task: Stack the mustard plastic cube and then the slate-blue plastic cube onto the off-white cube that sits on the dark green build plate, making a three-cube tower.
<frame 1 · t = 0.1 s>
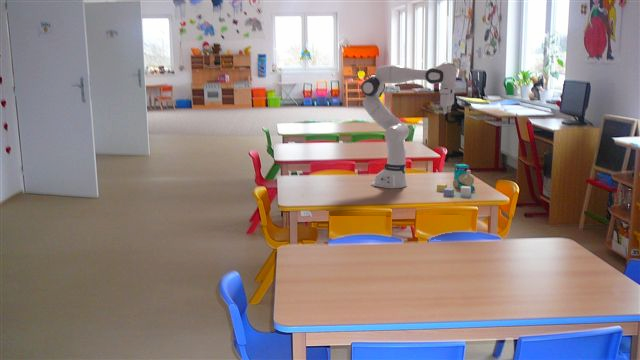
hand: (446, 113, 398), 48 cm above the table, tool pointing down, fingers open, 8 cm apart
blue block: (448, 197, 391), on the table
mustard block: (441, 192, 404), on the table
white block: (465, 195, 391), point 1 cm above the table, touching build plate
build plate: (465, 197, 391), on the table
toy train: (464, 190, 411), on the table
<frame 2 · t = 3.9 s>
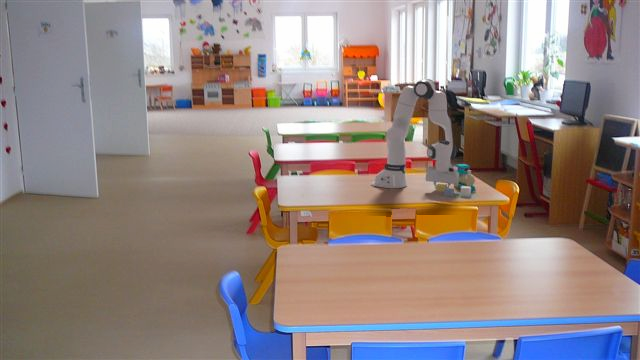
hand: (441, 189, 403), 2 cm above the table, tool pointing down, fingers closed on mustard block, 5 cm apart
mustard block: (441, 192, 404), on the table, touching gripper
when the fingers open (9 cm above the table, at t = 9.1 s): mustard block drops 1 cm, resting on white block.
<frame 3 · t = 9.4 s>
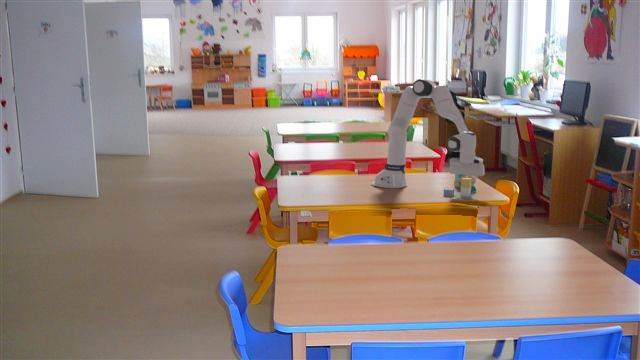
hand: (466, 182, 389), 9 cm above the table, tool pointing down, fingers open, 8 cm apart
mustard block: (466, 187, 390), point 6 cm above the table, touching white block
white block: (465, 195, 391), point 1 cm above the table, touching build plate, mustard block
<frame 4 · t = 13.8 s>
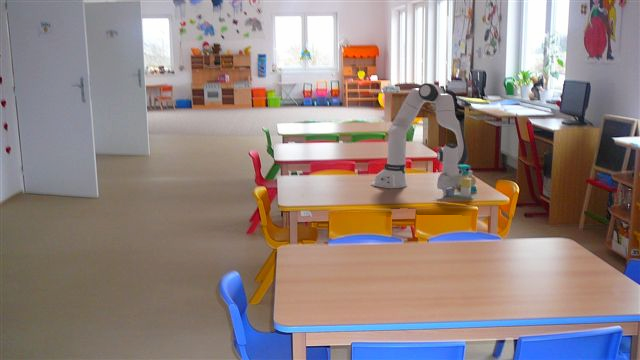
hand: (448, 194, 391), 2 cm above the table, tool pointing down, fingers closed on blue block, 6 cm apart
blue block: (448, 197, 391), on the table, touching gripper
when the fingers open (14 cm above the table, at t = 18.9 s): blue block drops 1 cm, resting on mustard block.
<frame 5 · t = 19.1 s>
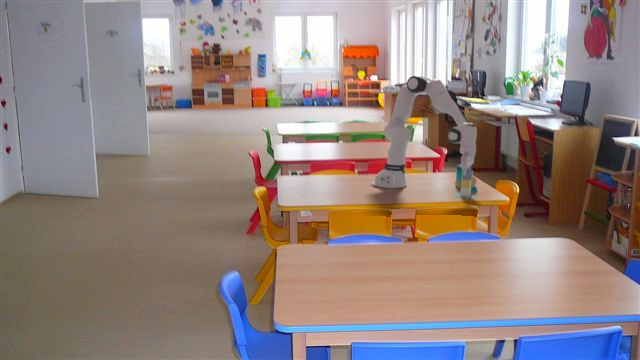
hand: (466, 173, 388), 14 cm above the table, tool pointing down, fingers open, 8 cm apart
blue block: (466, 178, 389), point 11 cm above the table, touching mustard block
mustard block: (466, 187, 390), point 6 cm above the table, touching blue block, white block
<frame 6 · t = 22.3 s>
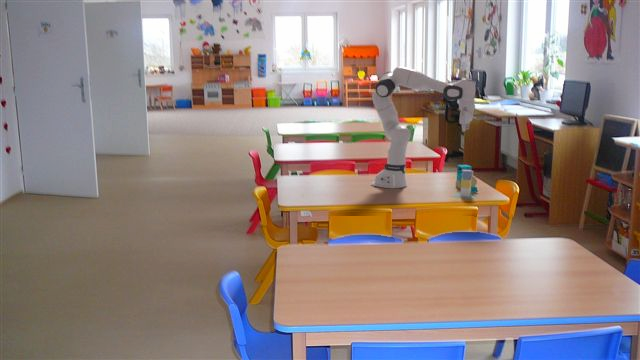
hand: (465, 130, 388), 39 cm above the table, tool pointing down, fingers open, 8 cm apart
at the end: mustard block 0.1 cm off-centre on the white block, point 5.0 cm above the white block's base; blue block 0.2 cm off-centre on the white block, point 10.0 cm above the white block's base; blue block tilted 0° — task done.
